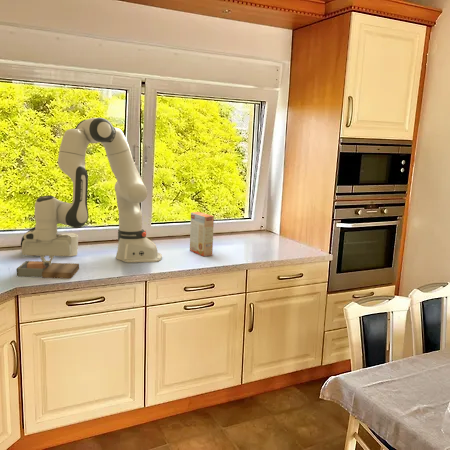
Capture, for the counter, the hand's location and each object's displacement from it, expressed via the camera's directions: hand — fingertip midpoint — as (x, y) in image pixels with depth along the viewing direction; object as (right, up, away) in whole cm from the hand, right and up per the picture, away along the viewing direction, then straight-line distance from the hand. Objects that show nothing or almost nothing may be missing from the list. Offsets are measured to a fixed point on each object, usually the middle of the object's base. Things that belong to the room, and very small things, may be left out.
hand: (47, 265), depth 208 cm
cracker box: (+64, +2, +44) cm, 78 cm away
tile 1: (-5, -1, 0) cm, 6 cm away
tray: (-6, -3, 0) cm, 7 cm away
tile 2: (-4, -1, 0) cm, 4 cm away
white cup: (0, +2, +31) cm, 31 cm away
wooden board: (+6, -4, +1) cm, 7 cm away
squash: (-16, +3, +30) cm, 34 cm away
